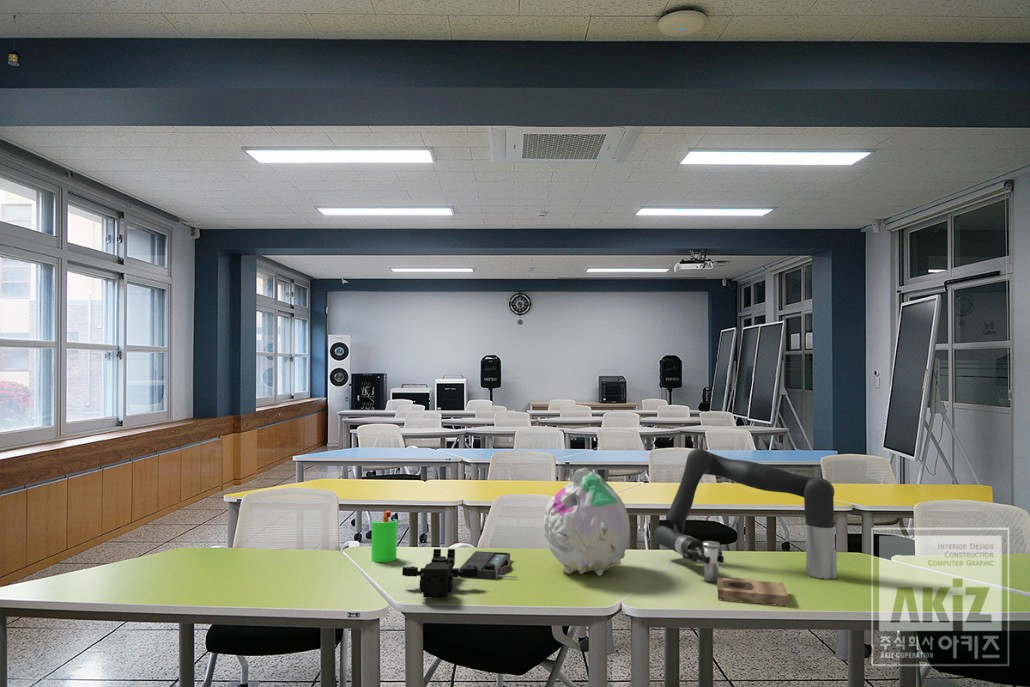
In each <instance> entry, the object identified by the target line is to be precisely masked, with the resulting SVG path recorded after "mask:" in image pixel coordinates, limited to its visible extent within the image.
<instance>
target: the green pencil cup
mask: <svg viewBox="0 0 1030 687" xmlns="http://www.w3.org/2000/svg"><path fill="white" fill-rule="evenodd" d="M391 517H392V513H391V511H390V510H385V511H384V512H383V517H382V522H378V521H374V520H371V552H370V553H371V558H370V559H371V561H372V562H374V563H389V562H393V561H395V560H397V554H398V553H397V550H398V548H397V546H398V545H397V541H398V539H397V538H398V537H397V536H398V534H397V533H398V520H397V519H396V518H392V521H389V518H391Z"/></svg>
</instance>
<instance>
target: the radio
mask: <svg viewBox="0 0 1030 687" xmlns="http://www.w3.org/2000/svg"><path fill="white" fill-rule="evenodd" d="M467 567H471V568H478V576H474V577H466V578H469V579H488V580H497V579H498V578H513V579H514V578H515V579H516V578H518V577H519V576H515V575H502V574H504V573H506V572H509V571H510V570H511V552H502V551H501V552H499V551H496V552H495V551H483V550H482V551H481V550H476V551H475V552H473V553H472V554H471V556H470V557H468V559H466V561H465V562H464V563H463V564H462V565H461V566H460V567H458V568H459V571H462V569H463V568H467ZM458 578H463V577H462V576H459V577H458Z"/></svg>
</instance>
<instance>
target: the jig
mask: <svg viewBox="0 0 1030 687" xmlns="http://www.w3.org/2000/svg"><path fill="white" fill-rule="evenodd" d="M716 584H717V586H716V589H718V590H717V600H718V599H721V600H720V601H725V600H733V601H732V602H736V601H743V602H742V603H746V602H754V603H753V604H757V603H764V604H763V605H768V604H776V605H775V606H778V605H785V606H784V607H789V595H788V592H787V590H786V588H785V585H784V583H783V582H775V581H764V580H750V579H742V578H729V577H727V578H726V577H719V578H718V577H717V581H716Z"/></svg>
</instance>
